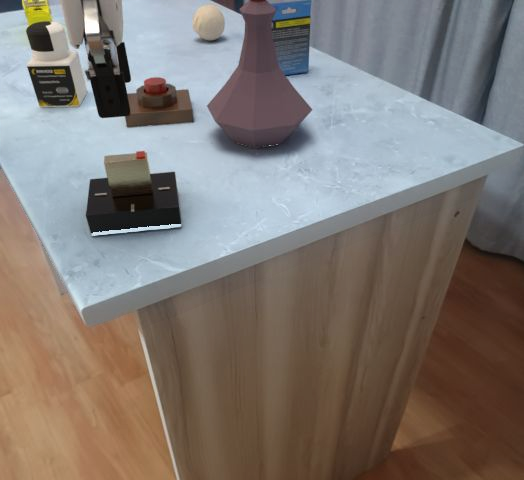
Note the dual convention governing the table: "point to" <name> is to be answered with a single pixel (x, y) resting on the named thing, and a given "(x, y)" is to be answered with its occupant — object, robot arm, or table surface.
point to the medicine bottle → (54, 67)
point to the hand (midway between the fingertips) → (116, 98)
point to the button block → (159, 107)
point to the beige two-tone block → (128, 174)
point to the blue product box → (292, 36)
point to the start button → (155, 86)
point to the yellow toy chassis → (36, 11)
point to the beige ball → (208, 22)
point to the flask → (258, 87)
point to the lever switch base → (133, 205)
